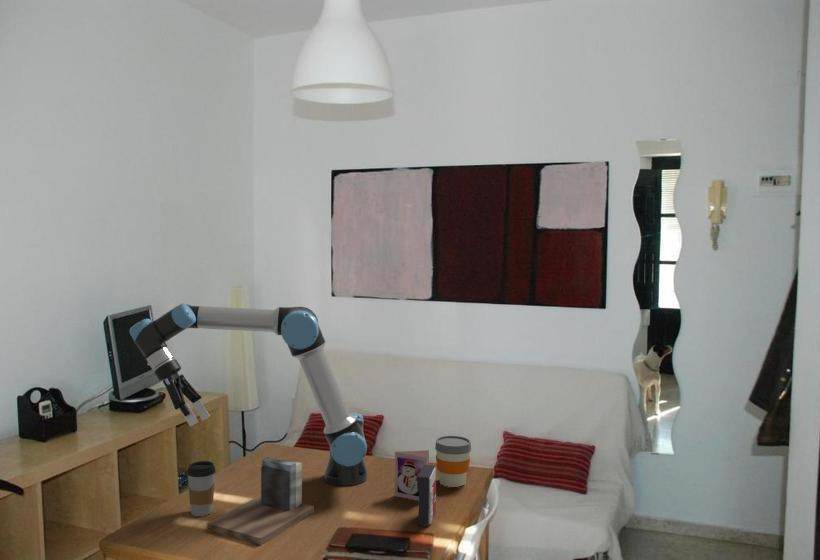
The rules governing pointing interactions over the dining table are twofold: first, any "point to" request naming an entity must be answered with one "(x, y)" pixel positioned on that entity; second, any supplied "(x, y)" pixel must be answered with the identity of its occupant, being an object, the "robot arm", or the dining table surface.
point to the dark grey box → (426, 494)
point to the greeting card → (409, 472)
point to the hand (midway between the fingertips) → (200, 421)
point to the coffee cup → (201, 487)
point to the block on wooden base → (267, 505)
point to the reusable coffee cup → (452, 460)
